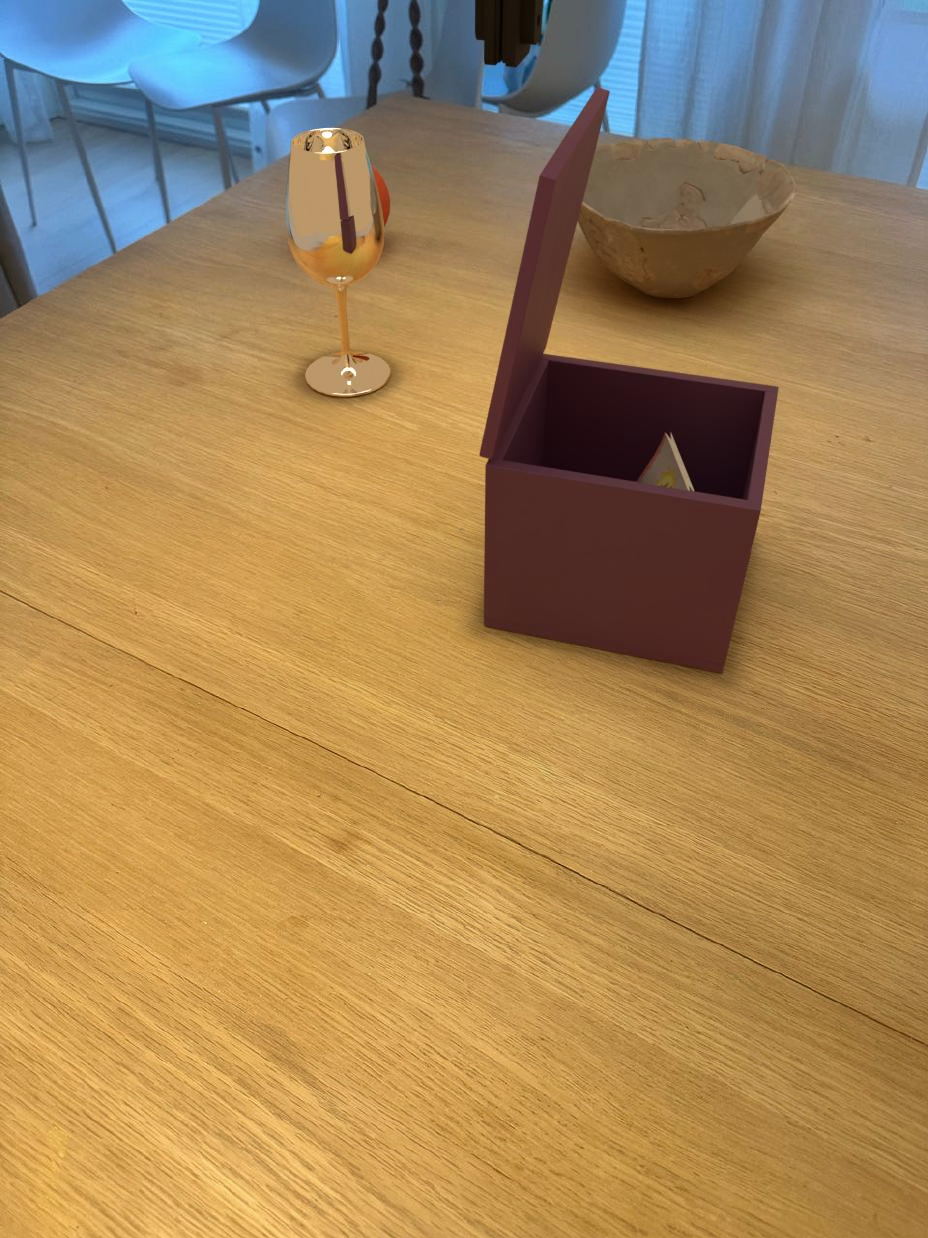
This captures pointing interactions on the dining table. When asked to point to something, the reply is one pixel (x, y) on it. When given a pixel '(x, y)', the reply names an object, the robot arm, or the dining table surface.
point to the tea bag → (666, 467)
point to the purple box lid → (543, 266)
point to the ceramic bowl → (679, 211)
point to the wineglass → (336, 241)
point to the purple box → (625, 510)
